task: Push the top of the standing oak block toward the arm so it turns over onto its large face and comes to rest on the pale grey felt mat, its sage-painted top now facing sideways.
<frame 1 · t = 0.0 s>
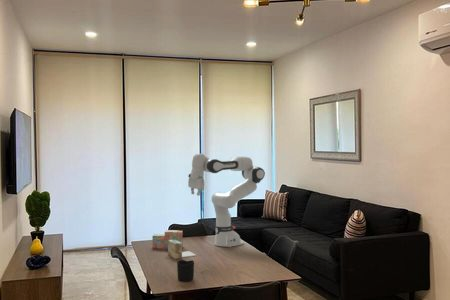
hand: (195, 194, 314), 39 cm above the table, tool pointing down, fingers open, 8 cm apart
oak block: (174, 256, 292), on the table
felt mat: (185, 254, 296), on the table
pen holder: (185, 280, 242), on the table
stack of blocks: (167, 247, 317), on the table
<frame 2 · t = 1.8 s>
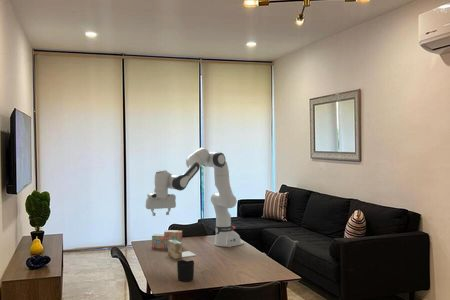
hand: (160, 215, 287), 28 cm above the table, tool pointing down, fingers open, 8 cm apart
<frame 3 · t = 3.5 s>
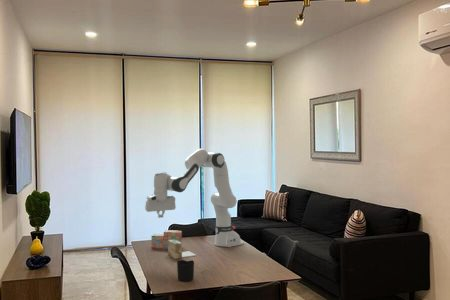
hand: (160, 217, 287), 27 cm above the table, tool pointing down, fingers closed
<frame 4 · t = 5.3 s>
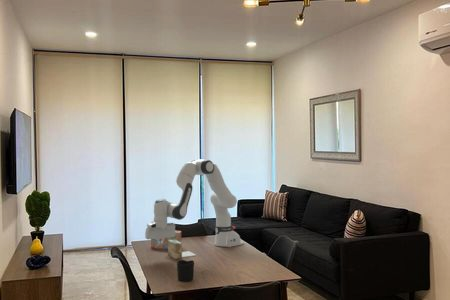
hand: (160, 244, 287), 9 cm above the table, tool pointing down, fingers closed
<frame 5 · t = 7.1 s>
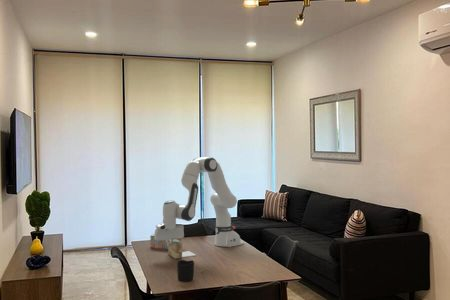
hand: (169, 245, 290), 8 cm above the table, tool pointing down, fingers closed
oak block: (174, 256, 292), on the table, touching gripper
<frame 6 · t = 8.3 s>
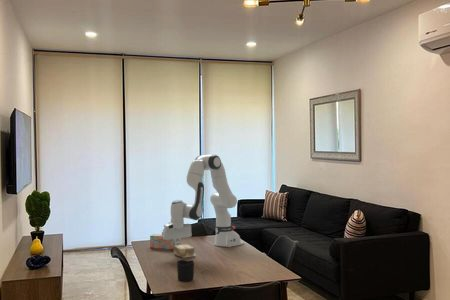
hand: (177, 244, 293), 7 cm above the table, tool pointing down, fingers closed
oak block: (177, 251, 293), point 3 cm above the table, tilted 90°, touching felt mat
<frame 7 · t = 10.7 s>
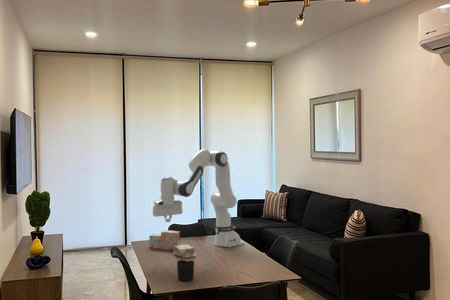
hand: (168, 221, 289), 24 cm above the table, tool pointing down, fingers closed
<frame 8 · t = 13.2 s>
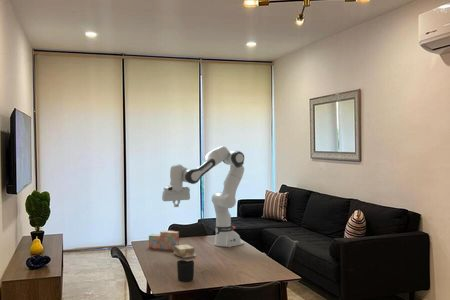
hand: (176, 206, 307), 31 cm above the table, tool pointing down, fingers closed
at the end: oak block tilted 90°; oak block 6.4 cm from the felt mat (horizontally); the gripper is holding nothing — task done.
